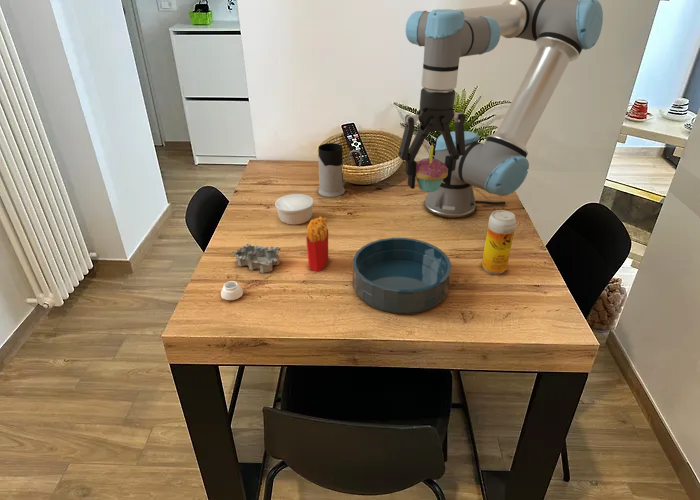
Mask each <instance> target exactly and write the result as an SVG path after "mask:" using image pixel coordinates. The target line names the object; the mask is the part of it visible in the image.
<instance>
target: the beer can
mask: <svg viewBox="0 0 700 500" xmlns="http://www.w3.org/2000/svg"><path fill="white" fill-rule="evenodd" d="M516 224H517V219H516V215H515V214H514V213H513V212H512V211H509V210H503V209H497V210H494V211H492V212H491V214H490V216H489V217H488V224H487V230H486V237H485V242H484V248H483V255H482V261H481V267H482V268H483V270H484V271H485V272H487V273H489V274H493V275H501V274H502V273H504V272H505V271H506V270H507V269H508V264H509V260H510V255H511V249H512V245H513V238H514V234H515V229H516Z"/></svg>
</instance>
